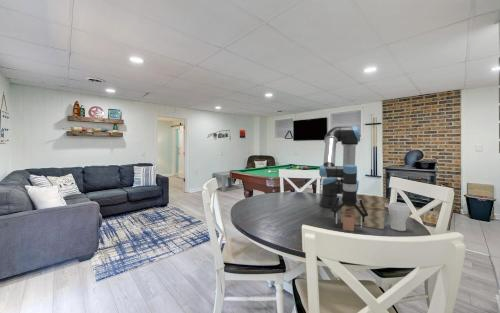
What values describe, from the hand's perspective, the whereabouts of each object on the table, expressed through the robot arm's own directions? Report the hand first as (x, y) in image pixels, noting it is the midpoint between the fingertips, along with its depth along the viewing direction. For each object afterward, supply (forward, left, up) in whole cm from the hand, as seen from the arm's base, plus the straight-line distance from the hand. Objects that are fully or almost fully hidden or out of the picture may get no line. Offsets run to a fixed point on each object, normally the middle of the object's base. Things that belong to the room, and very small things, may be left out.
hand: (348, 224), depth 130 cm
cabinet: (-1, +1, -2) cm, 3 cm away
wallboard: (-1, +13, -2) cm, 13 cm away
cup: (+14, +26, -2) cm, 30 cm away
